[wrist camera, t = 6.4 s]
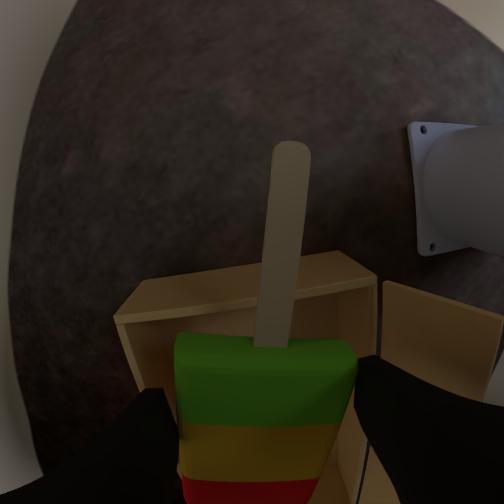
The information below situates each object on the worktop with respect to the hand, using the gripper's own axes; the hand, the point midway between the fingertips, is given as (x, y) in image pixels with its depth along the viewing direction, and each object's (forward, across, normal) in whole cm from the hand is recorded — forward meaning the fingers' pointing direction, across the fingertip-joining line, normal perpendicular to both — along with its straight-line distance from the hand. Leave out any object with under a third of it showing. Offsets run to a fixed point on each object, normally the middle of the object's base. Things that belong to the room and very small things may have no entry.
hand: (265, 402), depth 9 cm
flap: (0, -6, +7) cm, 9 cm away
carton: (+8, 0, +7) cm, 11 cm away
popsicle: (+2, 0, 0) cm, 2 cm away
